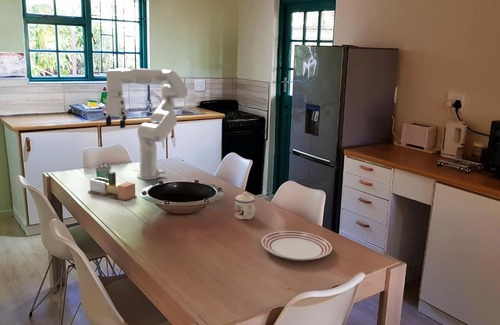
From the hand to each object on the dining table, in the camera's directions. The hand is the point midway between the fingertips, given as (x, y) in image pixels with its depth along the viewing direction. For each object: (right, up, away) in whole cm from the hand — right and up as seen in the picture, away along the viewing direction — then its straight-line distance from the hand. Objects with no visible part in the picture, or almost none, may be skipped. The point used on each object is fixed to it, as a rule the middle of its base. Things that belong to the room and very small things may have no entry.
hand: (115, 126), depth 248 cm
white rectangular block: (-5, -34, -6) cm, 34 cm away
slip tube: (+4, -34, -11) cm, 36 cm away
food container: (-9, -30, +12) cm, 34 cm away
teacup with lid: (+69, -44, -31) cm, 88 cm away
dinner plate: (+89, -54, -63) cm, 121 cm away
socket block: (+9, -37, -13) cm, 40 cm away
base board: (+1, -36, -9) cm, 37 cm away
